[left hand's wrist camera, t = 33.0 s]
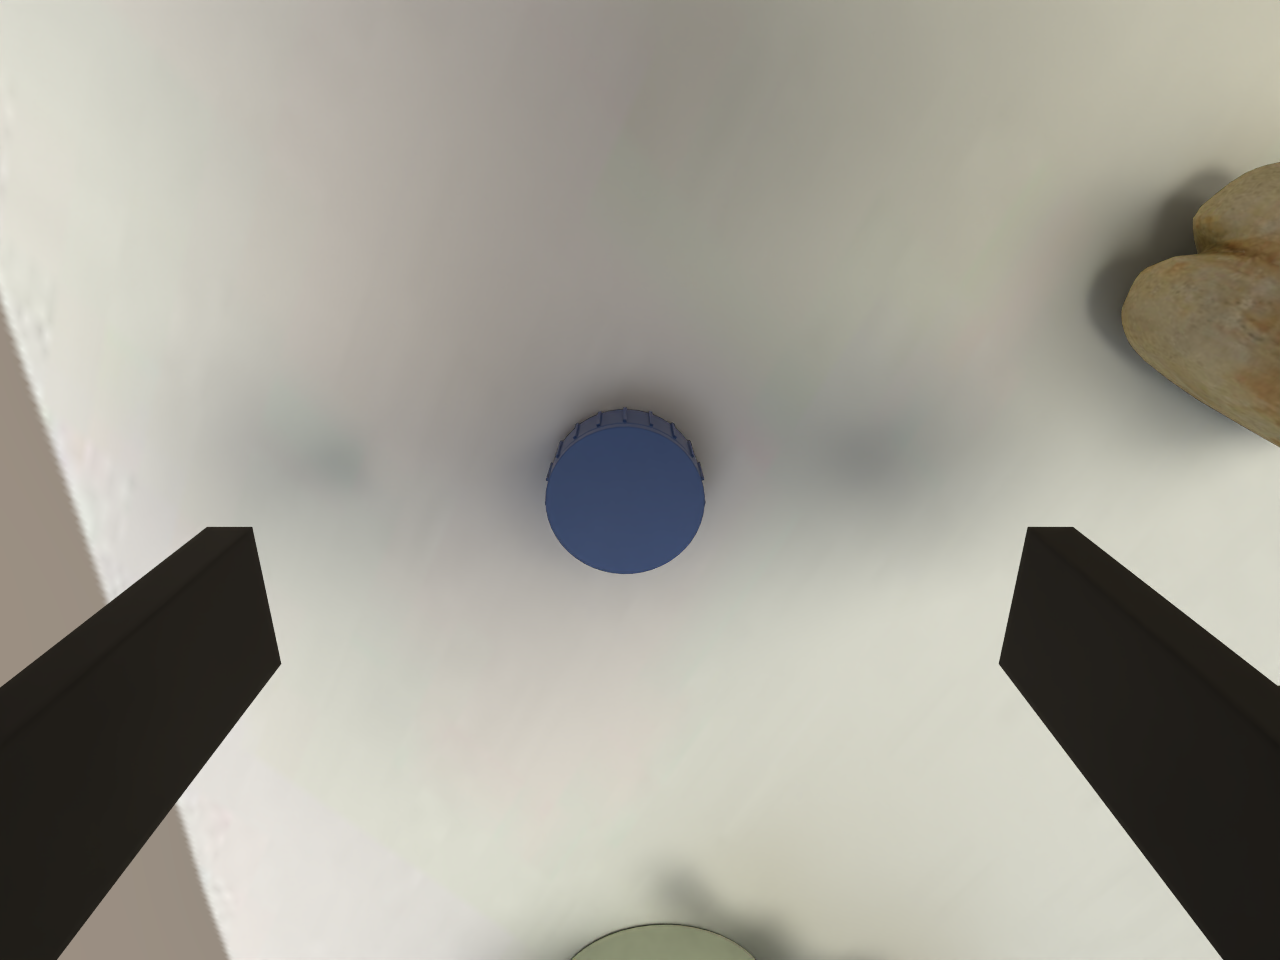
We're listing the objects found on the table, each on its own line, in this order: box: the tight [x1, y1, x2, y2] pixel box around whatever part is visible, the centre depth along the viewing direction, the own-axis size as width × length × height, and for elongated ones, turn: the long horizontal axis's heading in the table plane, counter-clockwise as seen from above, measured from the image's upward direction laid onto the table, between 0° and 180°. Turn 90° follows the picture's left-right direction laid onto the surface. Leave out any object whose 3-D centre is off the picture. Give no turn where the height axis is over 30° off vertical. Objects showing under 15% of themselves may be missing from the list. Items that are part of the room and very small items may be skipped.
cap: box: [545, 407, 705, 574], centre depth 18 cm, size 4×4×2 cm
